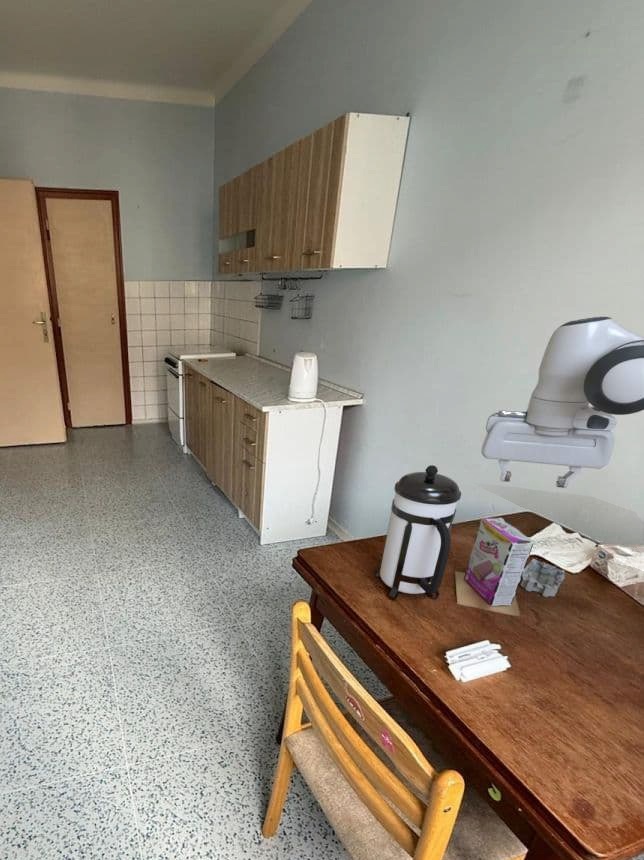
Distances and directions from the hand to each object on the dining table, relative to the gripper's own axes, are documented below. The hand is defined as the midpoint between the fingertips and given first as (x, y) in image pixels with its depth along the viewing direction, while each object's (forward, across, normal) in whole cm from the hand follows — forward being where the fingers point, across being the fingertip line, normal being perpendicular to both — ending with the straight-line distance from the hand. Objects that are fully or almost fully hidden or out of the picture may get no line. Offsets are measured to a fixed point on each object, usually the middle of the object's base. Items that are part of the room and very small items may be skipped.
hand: (532, 483), depth 93 cm
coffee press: (+28, -18, -4) cm, 33 cm away
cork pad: (+28, -2, +1) cm, 28 cm away
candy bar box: (+27, -2, +1) cm, 27 cm away
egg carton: (+28, +10, +10) cm, 32 cm away
